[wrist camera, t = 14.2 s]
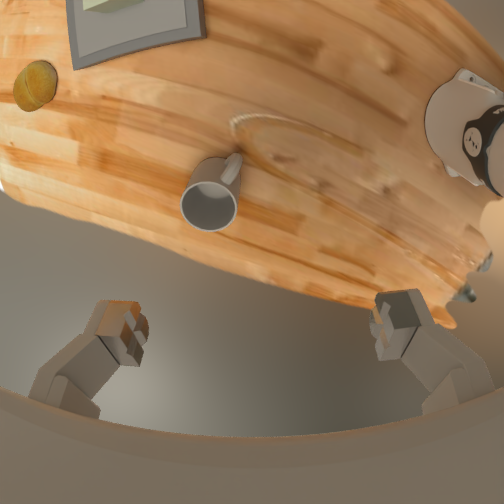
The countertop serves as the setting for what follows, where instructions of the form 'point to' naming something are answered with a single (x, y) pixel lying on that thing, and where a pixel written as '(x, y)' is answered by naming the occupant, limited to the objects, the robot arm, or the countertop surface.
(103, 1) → the sage block
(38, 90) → the bread roll
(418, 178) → the countertop surface
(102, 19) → the tray
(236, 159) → the cup
